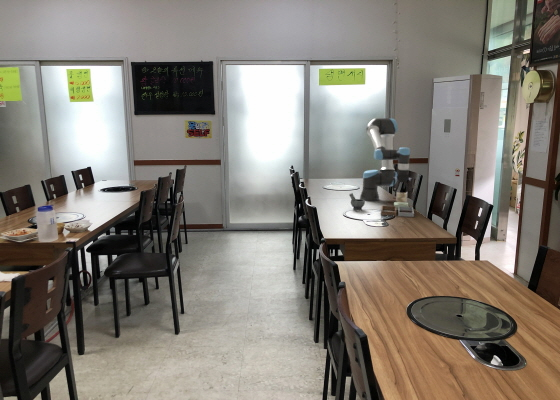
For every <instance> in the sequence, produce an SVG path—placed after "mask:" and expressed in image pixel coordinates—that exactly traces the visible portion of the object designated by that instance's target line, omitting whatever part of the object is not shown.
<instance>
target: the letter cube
mask: <svg viewBox="0 0 560 400" xmlns="http://www.w3.org/2000/svg"><path fill="white" fill-rule="evenodd" d="M396 202H401V203H407V202H406V192H398V195H397V201H396Z"/></svg>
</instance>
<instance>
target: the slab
mask: <svg viewBox="0 0 560 400" xmlns="http://www.w3.org/2000/svg"><path fill="white" fill-rule="evenodd" d="M393 206H396V211H398V207H410V206H409V202H406V203H405V202H397V201H395V202H393Z"/></svg>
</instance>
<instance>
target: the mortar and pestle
mask: <svg viewBox="0 0 560 400" xmlns="http://www.w3.org/2000/svg"><path fill="white" fill-rule="evenodd" d="M349 197H350V199H351V200H350V205H351V207H353V209H352V210H353V211H356V210H361V211H362V210H363V207H364V206H365V203H366V200H361V199H360V198H356V197H355V195H354V193H353V192H351V193H349Z"/></svg>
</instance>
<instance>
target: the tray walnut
mask: <svg viewBox="0 0 560 400" xmlns="http://www.w3.org/2000/svg"><path fill="white" fill-rule="evenodd" d="M380 210H381V211H380V216H390V215H394V216H395V217H397V210H396V206H394V205H381V209H380ZM385 210H386V211H385ZM387 210H388V211H387ZM391 210H393V211H391ZM394 216H393V217H394Z"/></svg>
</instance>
